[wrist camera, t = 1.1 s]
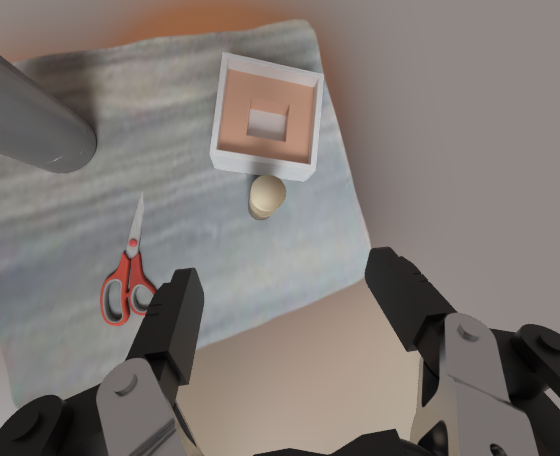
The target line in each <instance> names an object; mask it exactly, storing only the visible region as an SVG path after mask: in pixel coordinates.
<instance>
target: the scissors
mask: <svg viewBox="0 0 560 456" xmlns="http://www.w3.org/2000/svg"><path fill="white" fill-rule="evenodd" d="M143 211H144V204H143V191H142V193H141V196H140V199H139V202H138V206H137V208H136V212H135V216H134V219H133V223H132V227H131V230H130V234H129V239H128V243H127V247H126V252H123V254H122V257H121V261H120V264H119V267H118V269H117V271H116V272H115V273H114V274H113V275H111V276H110V277H108V278H107V279H106V281H105V282H104V284H103V286H102V290H101V297H100V304H101V312H102V316H103V318H104V320H105V321H106V322H107V323H108V324H110V325H113V326H119V325H122V324H124V323H125V322H126V321H127V320H128V318H129V315H130V313H129V308H128V303H127V298H129V304H130V307H131V309H132V310H133V311H134V312H135V313H136V314H138V315H145V314H146V312H147V309H142V308H140V307H139V306H138V304H137V302H136V291H137V289H138V287H139V286H143V287H144V288H146V289H147V290H148V291H149V292H150V294H151V296H152V298H153V295H154V293H155V292H156V289H155V288H154V287H153V285H152V284H150V283H149V282H148V281H147V280H146V278H145V276H144V274H143V269H142V261H141V253H139V245H140V238H141V230H142V221H143ZM131 258H132V260H131ZM130 267H131V277H130V291H129V292H128V282H129V274H130ZM114 281H119V282H120V284H121V286H120V308H121V313H122V318H121V319H115V318H113V317H112V315H111V313H110V310H109V305H108V294H109V289H110V286H111V284H112V283H113V282H114Z"/></svg>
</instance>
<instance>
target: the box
mask: <svg viewBox="0 0 560 456" xmlns="http://www.w3.org/2000/svg"><path fill="white" fill-rule="evenodd" d="M323 82H324V74H320V73H315V72H311V71H307V70H302V69H298V68H293V67H289V66H284V65H280V64H276V63H271V62H267V61H262V60H258V59H254V58H249V57H245V56H240V55H236V54H232V53H227V52H223V54H222V62H221V69H220V77H219V85H218V93H217V100H216V108H215V116H214V124H213V131H212V139H211V147H210V157H211V159H212V162H213V164H214V167H215V169H220V170H227V171H234V172H241V173H247V174H254V175H261V176H263V175H273V176H276V177H277V178H281V179H288V180H295V181H302V182H305V181H306V180H307V179H308V178H309V177H310V176H311V175H312V174H313V173H314V172H315V171H316V160H317V149H318V138H319V127H320V115H321V104H322V93H323Z"/></svg>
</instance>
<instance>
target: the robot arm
mask: <svg viewBox="0 0 560 456" xmlns="http://www.w3.org/2000/svg"><path fill="white" fill-rule="evenodd" d="M95 149H96V137H95V134H94V132H93V129H92V128H91V127H90V125H89V124H88V123H87V122H86V121H85V120H84V119H82V118H81V117H80V116H78V115H77V114H76V113H74V112H73V111H72V110H71V109H69V108H68V107H67V106H65V105H64V104H63V103H62V102H60V101H59V100H58V99H56V98H55V97H54V96H52V95H51V94H50V93H49V92H47V91H46V90H45V89H43V88H42V87H41V86H39V85H38V84H37V83H35V82H34V81H33V80H32V79H30V78H29V77H28V76H26V75H25V74H24V73H22V72H21V71H20V70H18V69H17V68H16V67H15V66H13V65H12V64H11V63H9V62H8V61H7V60H5V59H4V58H3V57H1V56H0V154H3V155H5V156H8V157H11V158H14V159H16V160H19V161H21V162H24V163H27V164H30V165H33V166H35V167H38V168H41V169H44V170H47V171H50V172H55V173H68V172H72V171H75V170H77V169H80V168H81V167H83V166H84V165H86V164H87V163H88V162H89V161H90V160H91V158H92V156H93V155H94V152H95ZM365 280H366V283H367V285H368V287H369V288H370V290H371V292H372V294H373V295H374V297H375V298H376V300H377V302H378V304H379V305H380V307H381V309H382V310H383V312H384V314H385V315H386V317H387V319H388V321H389V322H390V324H391V326H392V327H393V329H394V331H395V332H396V334H397V336H398V338H399V339H400V341H401V343H402V344H403V346H404V348H405V350H406V351H407V352H410V351H416V350H418V351H419V353H420V354H421V358H420V364H419V380H418V396H417V410H416V415H415V418H414V421H413V424H412V429H411V435H410V436H411V437H410V441H407V440H403V439H400V438H399V436H398V433H397V431H396V429H391V430H386V431H381V432H375V433H370V434H364V435H361V436H359V437H358V438H356V439H355V440H353V441H352V442H350V443H348V444H347V445H345V446H343V447H342V448H341V449H339V450H337V451H335V452H334V453H332V454H329V455H325V454H320V453H314V452H308V451H303V450H297V449H292V448H288V449H282V450H277V451H271V452H266V453H261V454H255V455H253V456H560V409H559V408H558V407H557V406H556V405H555V404H554V403H553V402H552V400H551V399H550V398H549V397H548V396H547V395H546V394H545V393H544V391H546V390H547V389H549V388H551V389H552V390H553V391H554V392H555V393H556V394H557V395H558V397H559V398H560V334H558V333H557V332H555V331H553V330H551V329H548V328H546V327H543V326H539V325H535V324H527V325H524V326H522V327H521V328H520V329H519V330H518V331H517V332H516V333H515V332H509V331H502V330H496V329H490V328H487V326H486V325H484V324H483V323H482V322H480V321H479V320H477V319H475V318H473V317H471V316H469V315H466V314H462V313H457V311H456V310H455V309H454V308H453V307H452V306H451V305H450V304H449V303H448V301H447V300H446V299H445V298H444V297H443V296H442V295H441V294H440V293H439V292H438V290H436V288H435V287H434V286H433V285H432V284H431V283H430V282H428V279H427V278H426V277H425V276H424V275H423V274H421V272H420V271H419V270H418V268H417V267H416V266H415V265H414V264H413V263H411V262H410V261H408V260H407V259H405V258H404V257H402V256H400V257H398V255H397V254H396V253H395V252H394V251H393V250H392V249H391V248H390V247H380V248H372V249H371V250H370V253H369V257H368V261H367V265H366V269H365ZM203 307H204V292H203V289H202V286H201V283H200V280H199V277H198V274H197V271H196V269H195V268H186V269H177V270H175V272H174V274H173V277H172V280H171V282H170V283H163V285H162V286H161V287H160V288H159V289H158V290H157V291H156V292H155V293H154V295H153V298H152V300H151V302H150V305H149V307H148V309H147V312H146V314H145V317H144V319H143V321H142V323H141V326H140V328H139V330H138V332H137V335H136V337H135V339H134V342H133V344H132V346H131V349H130V351H129V353H128V356H127V358H126V359H125V361H124V362H122V363H121V364H119V365H118V366H116V367H115V368H114V369H113V370H112V371H111V372H110V373H109V374H108V375H107V376H106V377H105V378H104V380H103V381H102V383H100V384H98V385H96V386H94V387H92V388H90V389H88V390H86V391H83V392H81V393H79V394H77V395H74V396H72V397H70V398H68V399H66V400H62V399H61V398H59V397H58V396H56V395H45V396H42V397H39V398H37V399H35V400H33V401H31V402H29V403H28V404H26V405H24V406H23V407H22V408H20V409H19V410H18V411H17V412H16V413H15V414H13V415H12V416H11V417H10V418H9V419H8V420H7V421H6V422H5V423H4V425H3V426H2V427H1V428H0V456H204V455H203V453H202V452H201V450H200V448H199V446H198V444H197V442H196V440H195V438H194V436H193V434H192V432H191V430H190V428H189V426H188V423H187V422H186V419H185V417H184V415H183V413H182V411H181V409H180V407H179V405H178V403H177V401H176V395H177V391H178V386H181V385H188V384H189V380H190V375H191V370H192V365H193V359H194V354H195V349H196V343H197V338H198V333H199V328H200V322H201V317H202V312H203Z"/></svg>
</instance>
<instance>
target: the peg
mask: <svg viewBox="0 0 560 456" xmlns="http://www.w3.org/2000/svg"><path fill="white" fill-rule="evenodd" d="M285 197H286V189H285V186H284V184H283V182H282V181H281V180H280V179H279V178H277V177H276V176H273V175H263V176H260V177H258V178H257V179H256V180H255V181H254V182H253V184H252V187H251V192H250V200H249V208H248V209H249V213H250V215H251V216H252V217H253V218H254V219H256V220H265V219H267V218H269V217H270V216H271V215H272V214H273V213H274V212H275V211H276V210H277V208H278V207H279V206H280V205H281V204H282V203H283V202H284V200H285Z"/></svg>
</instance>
